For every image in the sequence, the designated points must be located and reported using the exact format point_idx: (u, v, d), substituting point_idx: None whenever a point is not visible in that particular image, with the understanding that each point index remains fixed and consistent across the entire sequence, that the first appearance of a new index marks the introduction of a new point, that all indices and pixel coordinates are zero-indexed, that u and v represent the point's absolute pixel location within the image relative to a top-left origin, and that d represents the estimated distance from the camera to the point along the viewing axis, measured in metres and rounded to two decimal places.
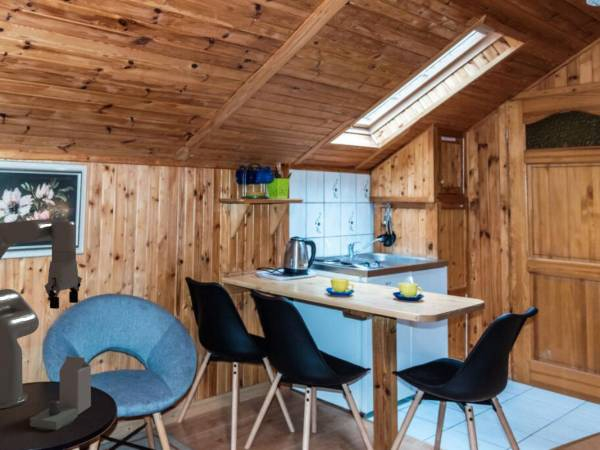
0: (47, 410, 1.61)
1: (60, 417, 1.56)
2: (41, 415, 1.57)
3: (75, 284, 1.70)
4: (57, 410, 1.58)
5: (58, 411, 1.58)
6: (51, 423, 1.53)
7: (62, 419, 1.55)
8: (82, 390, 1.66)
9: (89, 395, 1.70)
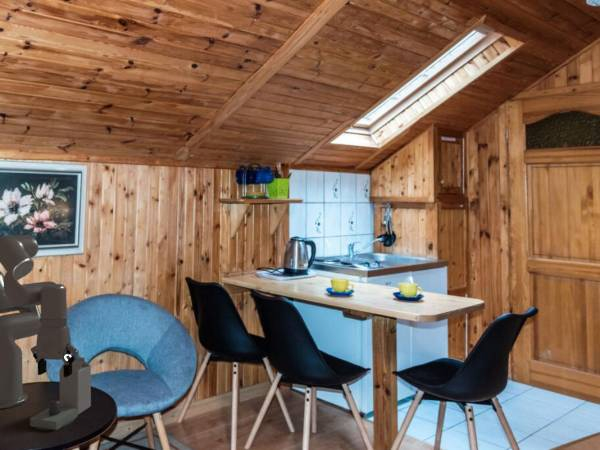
0: (47, 410, 1.61)
1: (60, 417, 1.56)
2: (41, 415, 1.57)
3: None
4: (57, 410, 1.58)
5: (58, 411, 1.58)
6: (51, 423, 1.53)
7: (62, 419, 1.55)
8: (82, 390, 1.66)
9: (89, 395, 1.70)
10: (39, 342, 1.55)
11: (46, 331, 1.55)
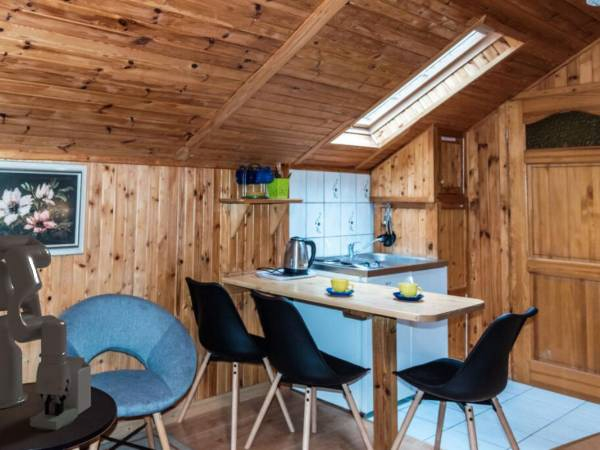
0: None
1: (60, 417, 1.56)
2: (41, 415, 1.57)
3: None
4: None
5: None
6: (51, 423, 1.53)
7: (62, 419, 1.55)
8: (82, 390, 1.66)
9: (89, 395, 1.70)
10: (39, 377, 1.56)
11: (46, 367, 1.55)
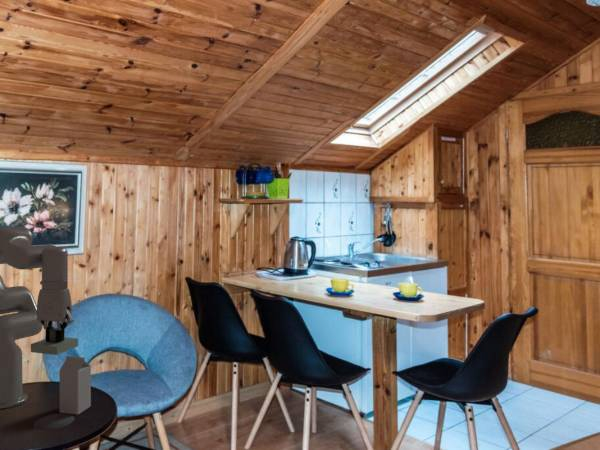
0: None
1: (61, 344, 1.55)
2: (42, 342, 1.56)
3: None
4: None
5: None
6: (51, 348, 1.53)
7: (62, 345, 1.55)
8: (82, 390, 1.66)
9: (89, 395, 1.70)
10: (40, 304, 1.56)
11: (47, 293, 1.55)
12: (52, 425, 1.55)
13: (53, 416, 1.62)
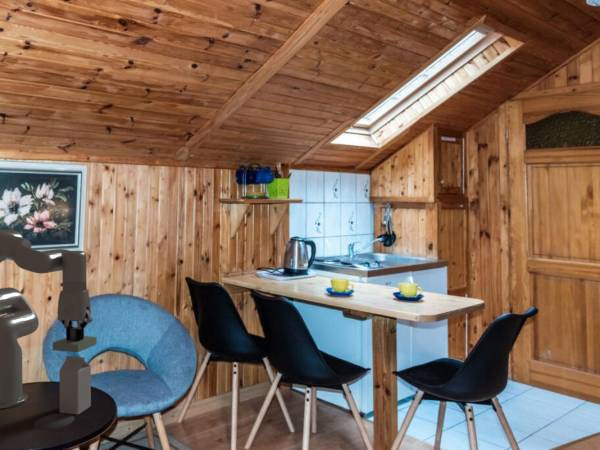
0: None
1: (81, 342, 1.64)
2: (63, 340, 1.66)
3: None
4: None
5: None
6: (73, 346, 1.62)
7: (83, 343, 1.64)
8: (82, 390, 1.66)
9: (89, 395, 1.70)
10: (61, 304, 1.65)
11: (67, 294, 1.64)
12: (52, 425, 1.55)
13: (53, 416, 1.62)
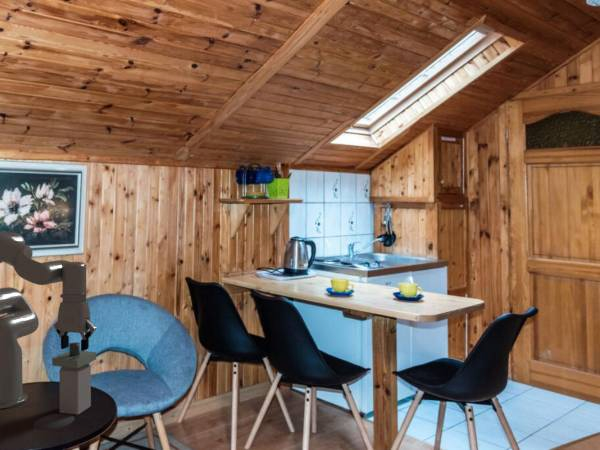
0: (67, 352, 1.70)
1: (80, 357, 1.65)
2: (62, 356, 1.66)
3: None
4: (77, 351, 1.67)
5: (78, 352, 1.67)
6: (72, 361, 1.62)
7: (82, 359, 1.64)
8: (82, 390, 1.66)
9: (89, 395, 1.70)
10: (60, 316, 1.65)
11: (67, 306, 1.64)
12: (52, 425, 1.55)
13: (53, 416, 1.62)
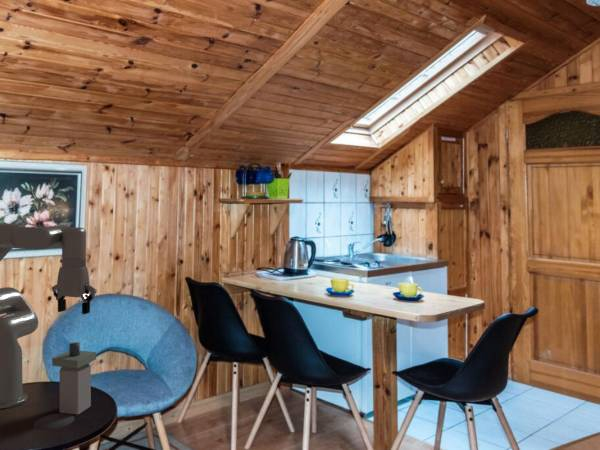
0: (67, 352, 1.70)
1: (80, 357, 1.65)
2: (62, 356, 1.66)
3: None
4: (77, 351, 1.67)
5: (78, 353, 1.67)
6: (72, 362, 1.62)
7: (82, 359, 1.64)
8: (82, 390, 1.66)
9: (89, 395, 1.70)
10: (60, 280, 1.65)
11: (67, 270, 1.65)
12: (52, 425, 1.55)
13: (53, 416, 1.62)
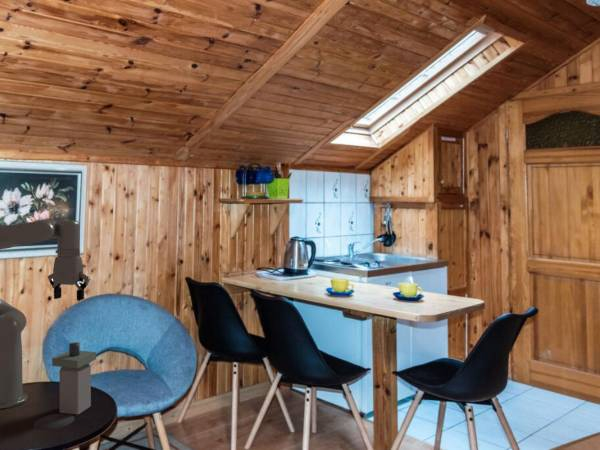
0: (67, 352, 1.70)
1: (80, 357, 1.65)
2: (62, 356, 1.66)
3: None
4: (77, 351, 1.67)
5: (78, 353, 1.67)
6: (72, 362, 1.62)
7: (82, 359, 1.64)
8: (82, 390, 1.66)
9: (89, 395, 1.70)
10: (55, 269, 1.78)
11: (62, 260, 1.77)
12: (52, 425, 1.55)
13: (53, 416, 1.62)
